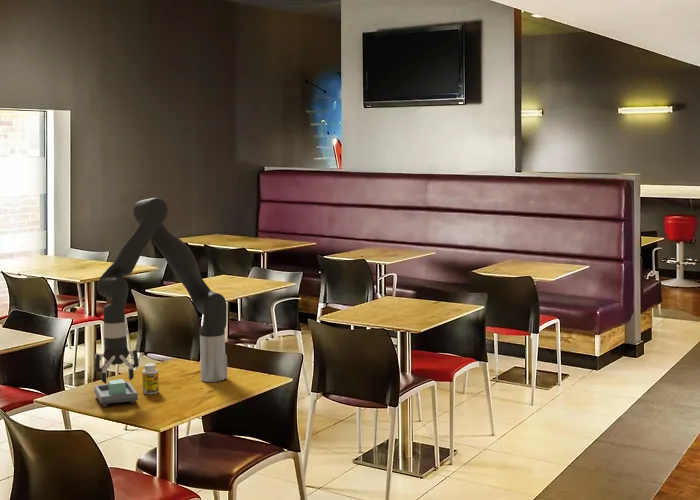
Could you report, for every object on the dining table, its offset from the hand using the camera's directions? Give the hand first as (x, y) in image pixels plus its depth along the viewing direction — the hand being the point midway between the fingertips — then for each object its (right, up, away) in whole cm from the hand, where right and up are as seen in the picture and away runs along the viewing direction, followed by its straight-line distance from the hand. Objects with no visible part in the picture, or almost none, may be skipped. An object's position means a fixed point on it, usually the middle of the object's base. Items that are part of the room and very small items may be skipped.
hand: (117, 381), depth 301 cm
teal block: (0, -5, +1) cm, 5 cm away
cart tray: (-2, -7, +4) cm, 8 cm away
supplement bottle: (+8, -6, +13) cm, 17 cm away
